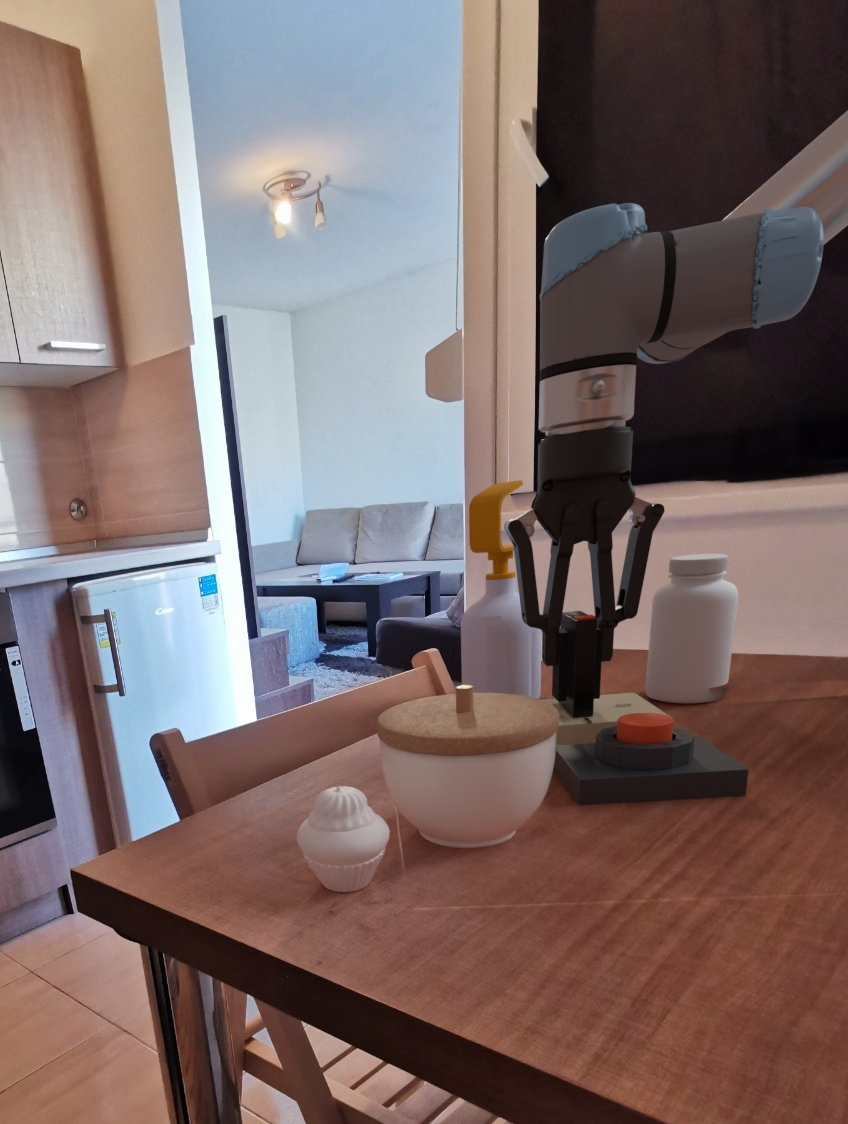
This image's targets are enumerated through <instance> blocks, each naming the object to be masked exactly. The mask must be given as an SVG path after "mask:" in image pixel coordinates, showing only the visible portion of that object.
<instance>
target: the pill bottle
mask: <svg viewBox="0 0 848 1124" xmlns="http://www.w3.org/2000/svg"><path fill="white" fill-rule="evenodd" d="M728 565H729V555H728V554H726V553H696V554H686V555H685V554H684V555H678V556H673V557H671V558H670V559H669V564H668V573H670V574H668V578H669V579H670V582H667V583H665V584H663V585H660V586H659V587H658V588H657V590H655V592H654V595H653V598H652V603H651V614H650V615H651V617H650V625H649V626H650V627H649V640H648V650H647V651H648V652H647V666H646V675H645V676H646V677H645V695H646V697H648V698H650V699H651V700H655V701H658V702H663V703H668V704H669V703H670V704H685V705H687V704H705V703H711V702H716V701H719V700H722V699H723V698H724V697H725V696H726V694H727V691H728V688H727V687H724V688H718V687H721V686H724V685H727V684H728V683H729V679H730V672H731V671H730V670H731V661H732V654H733V646H734V637H735V629H736V620H737V612H738V605H739V604H738V603H739V590H738V588H737V586H736V585H735V584H734V583H732V582H730V581H728V580H725V579H724V576H726V575H727V571H726V570H728Z"/></svg>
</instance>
